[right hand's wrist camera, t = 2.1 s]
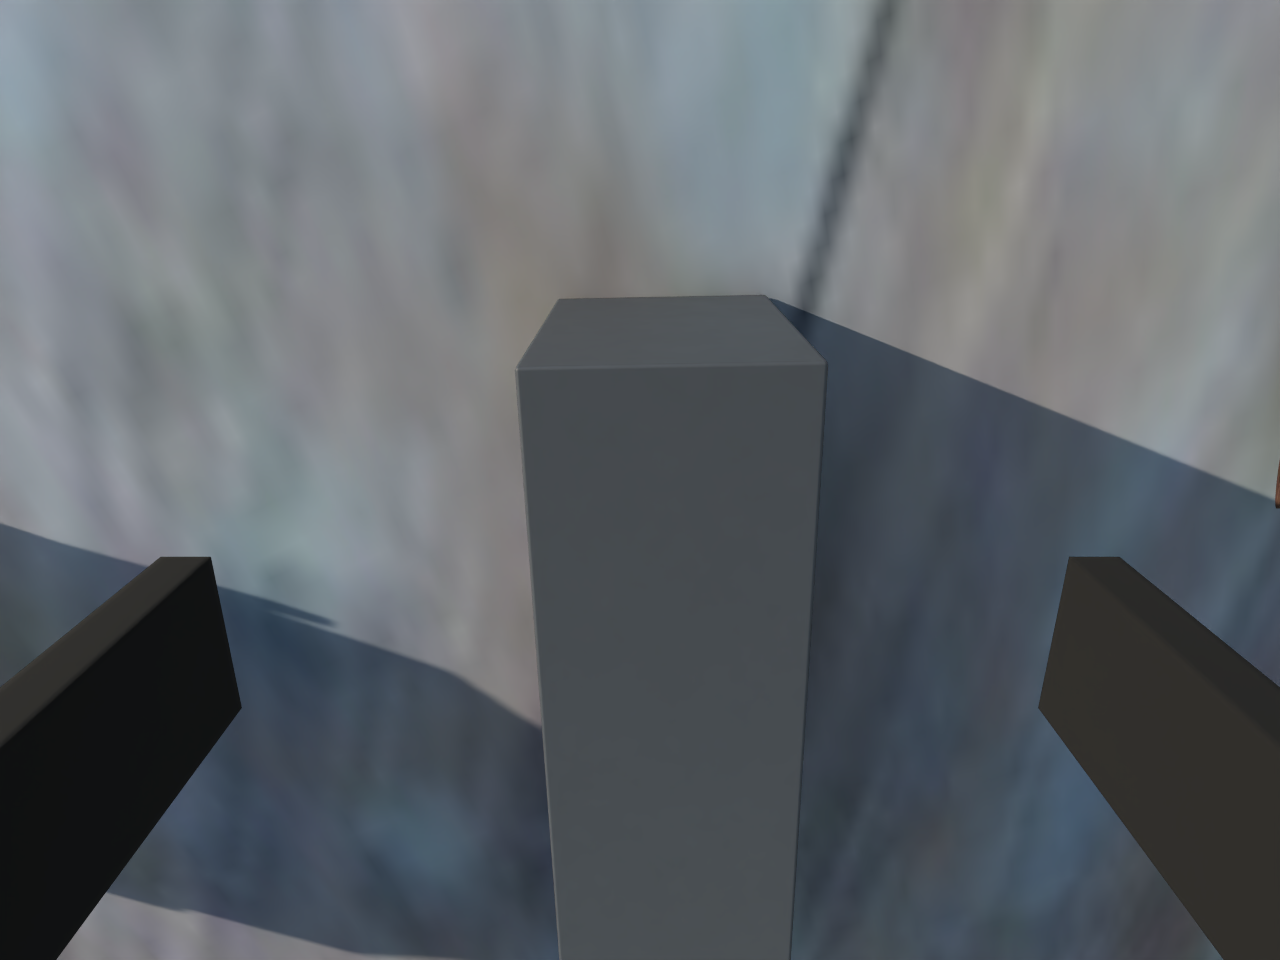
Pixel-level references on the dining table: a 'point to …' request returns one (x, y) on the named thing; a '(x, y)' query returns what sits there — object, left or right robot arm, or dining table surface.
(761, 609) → the box
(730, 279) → the dining table surface
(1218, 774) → the right robot arm
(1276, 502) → the fork
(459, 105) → the dining table surface
